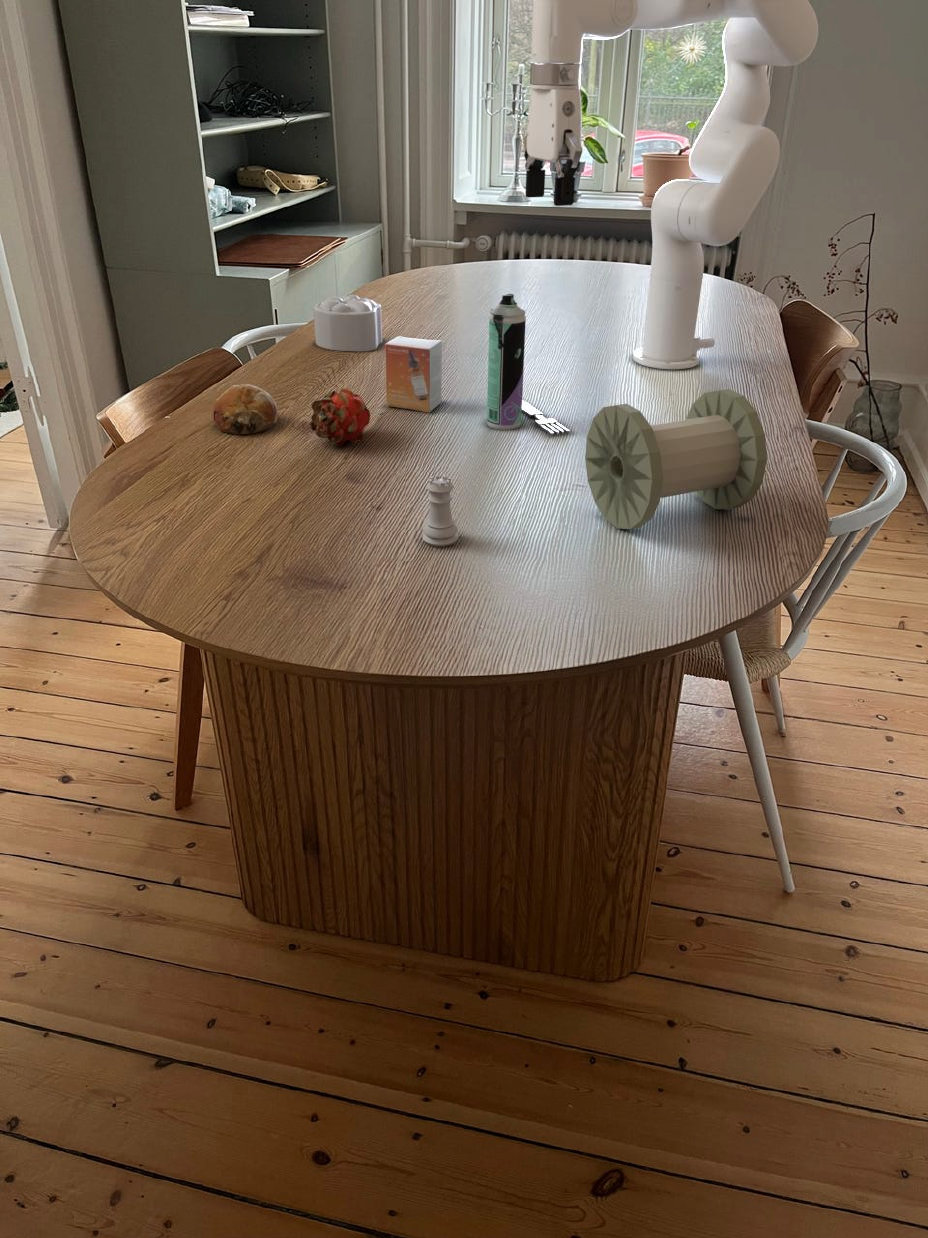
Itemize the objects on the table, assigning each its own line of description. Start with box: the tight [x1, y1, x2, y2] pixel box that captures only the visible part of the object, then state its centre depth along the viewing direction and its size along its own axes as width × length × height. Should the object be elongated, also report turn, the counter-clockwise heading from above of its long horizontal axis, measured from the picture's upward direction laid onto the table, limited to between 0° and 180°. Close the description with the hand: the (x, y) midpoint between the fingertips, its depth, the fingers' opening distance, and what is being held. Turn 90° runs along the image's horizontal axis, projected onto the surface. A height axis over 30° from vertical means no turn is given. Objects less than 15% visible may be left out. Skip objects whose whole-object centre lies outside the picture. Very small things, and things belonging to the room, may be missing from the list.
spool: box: [584, 388, 768, 530], centre depth 118 cm, size 16×15×15 cm
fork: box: [522, 399, 570, 437], centre depth 152 cm, size 17×3×1 cm, turn 24°
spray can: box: [486, 293, 527, 431], centre depth 144 cm, size 6×6×20 cm
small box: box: [384, 335, 443, 413], centre depth 154 cm, size 8×6×10 cm
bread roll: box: [212, 383, 279, 435], centre depth 147 cm, size 10×10×8 cm
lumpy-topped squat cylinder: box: [313, 294, 383, 352], centre depth 186 cm, size 10×13×9 cm
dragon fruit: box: [309, 387, 371, 447], centre depth 141 cm, size 8×8×12 cm
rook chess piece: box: [421, 474, 459, 548], centre depth 112 cm, size 4×4×8 cm
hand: (548, 200), depth 150 cm, fingers open, 9 cm apart
